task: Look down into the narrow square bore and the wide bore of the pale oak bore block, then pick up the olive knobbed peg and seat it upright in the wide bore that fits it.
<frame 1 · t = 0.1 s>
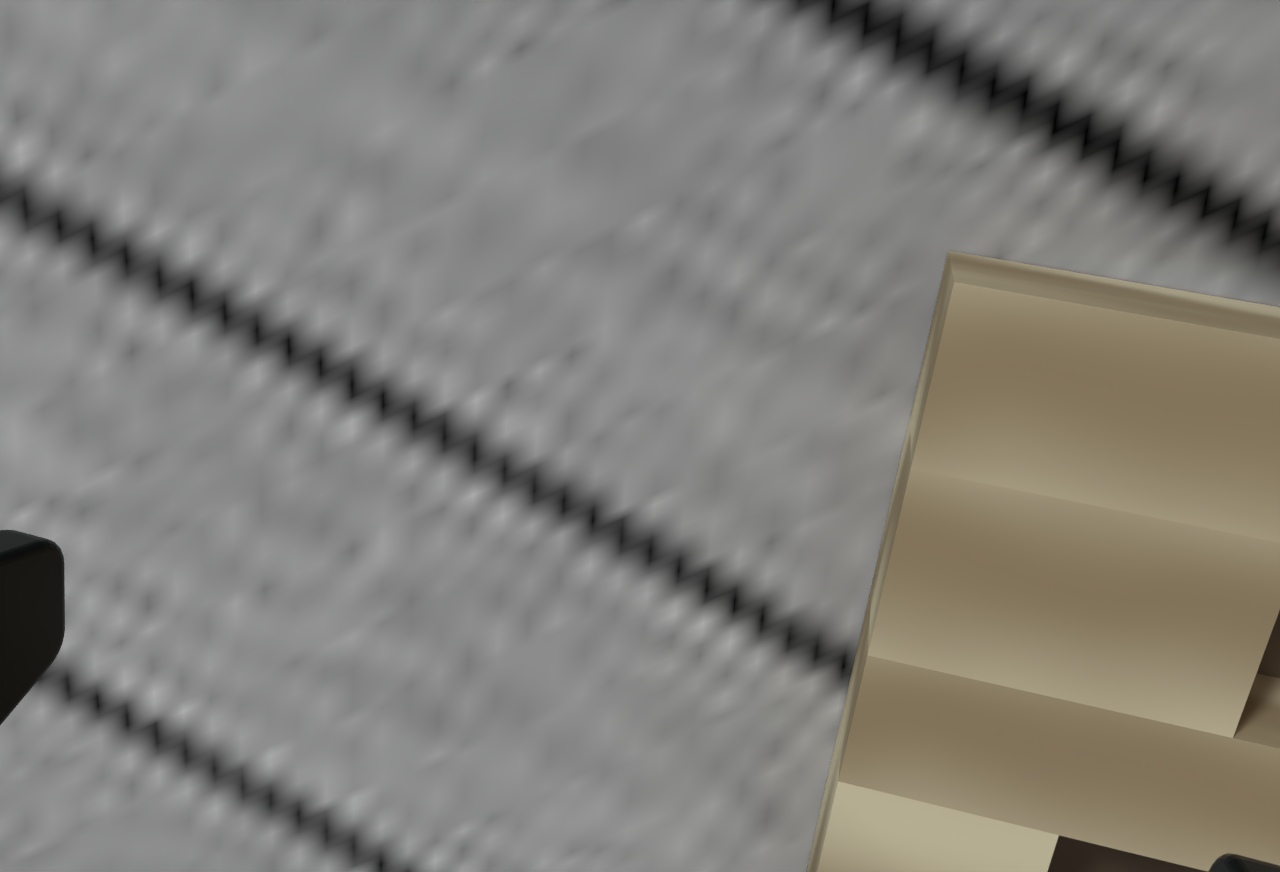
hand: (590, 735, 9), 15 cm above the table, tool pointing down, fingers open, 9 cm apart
bore block: (1239, 811, 23), on the table
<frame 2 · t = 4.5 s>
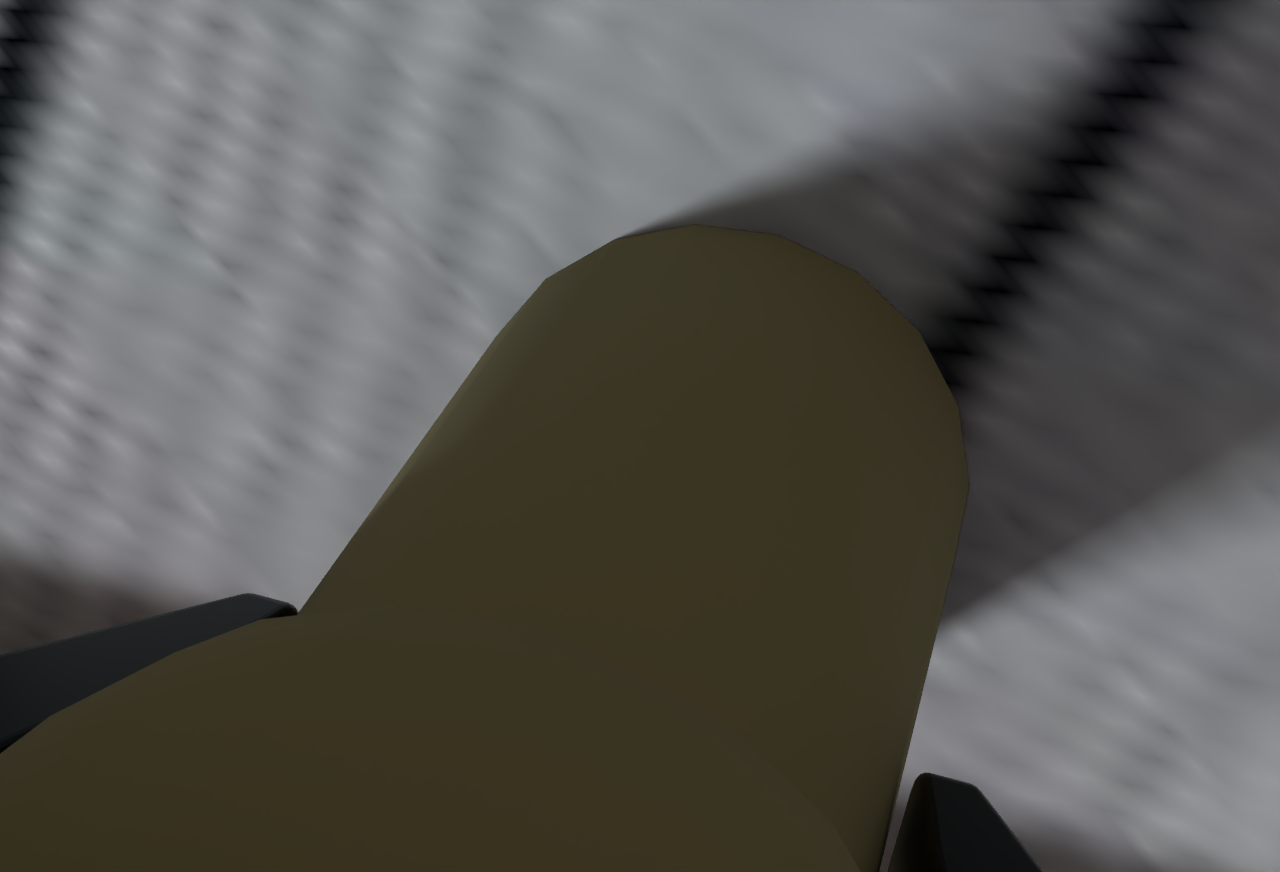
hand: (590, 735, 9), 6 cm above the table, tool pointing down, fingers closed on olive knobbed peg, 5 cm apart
olive knobbed peg: (708, 474, 14), on the table, touching gripper
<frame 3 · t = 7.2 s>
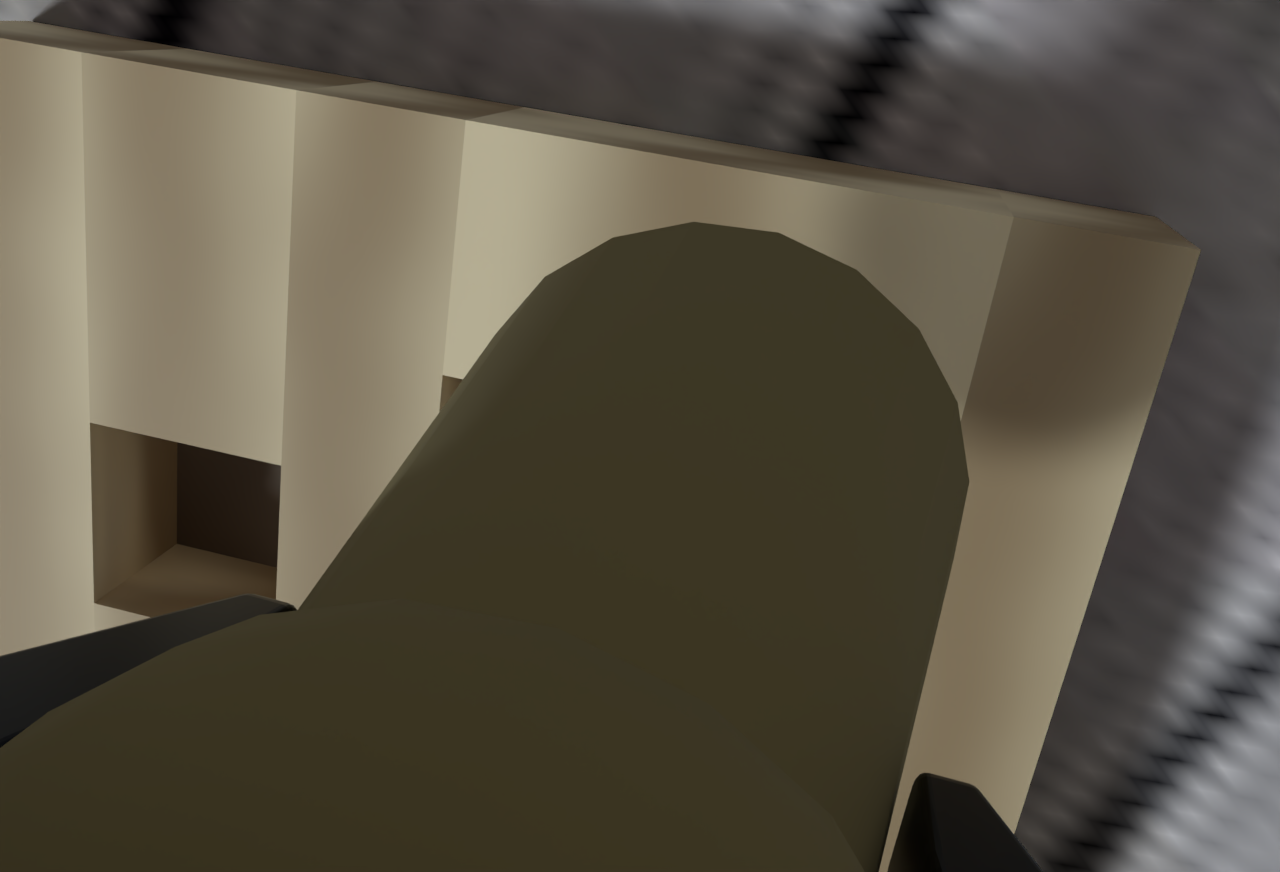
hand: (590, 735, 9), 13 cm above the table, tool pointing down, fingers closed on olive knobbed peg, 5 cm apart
bore block: (504, 531, 23), on the table
olive knobbed peg: (708, 471, 14), point 7 cm above the table, touching gripper
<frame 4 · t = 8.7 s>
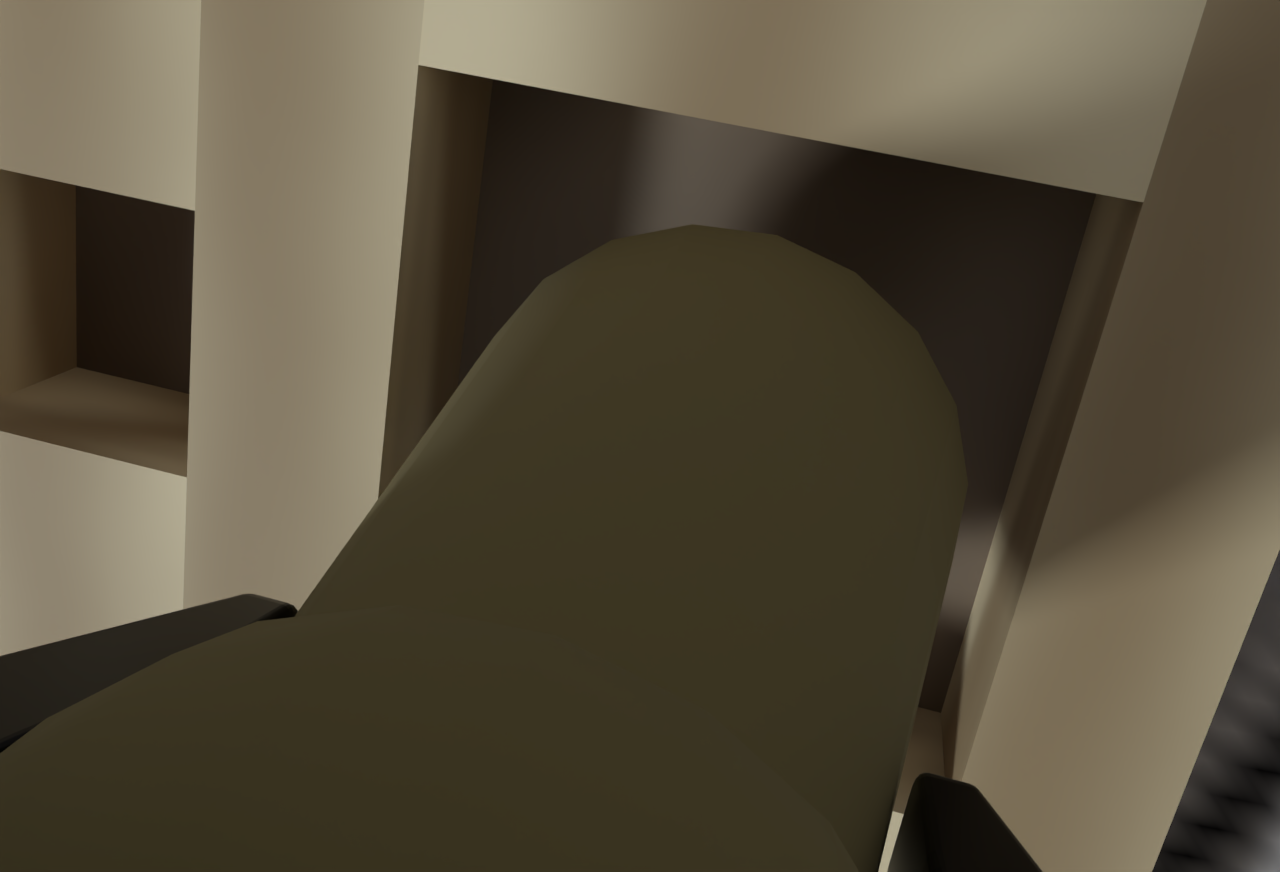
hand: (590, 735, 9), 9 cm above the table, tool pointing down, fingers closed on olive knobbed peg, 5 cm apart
bore block: (501, 345, 17), on the table
olive knobbed peg: (707, 474, 14), point 3 cm above the table, touching gripper
when the fingers open (7 cm above the table, at t = 9.9 s): olive knobbed peg drops 1 cm, resting on bore block.
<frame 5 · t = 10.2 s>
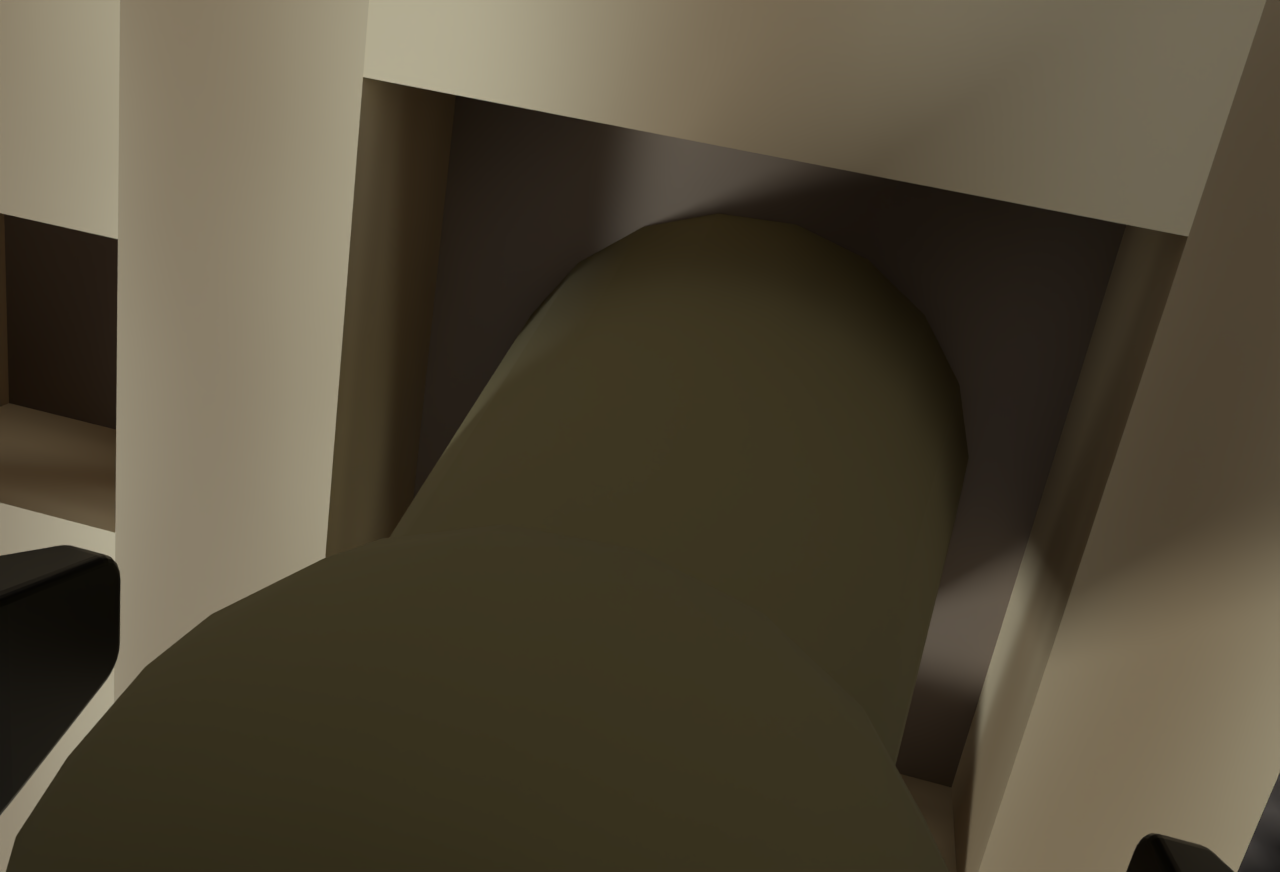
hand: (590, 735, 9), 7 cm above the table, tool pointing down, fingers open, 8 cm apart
bore block: (468, 383, 16), on the table
olive knobbed peg: (726, 446, 15), resting on bore block
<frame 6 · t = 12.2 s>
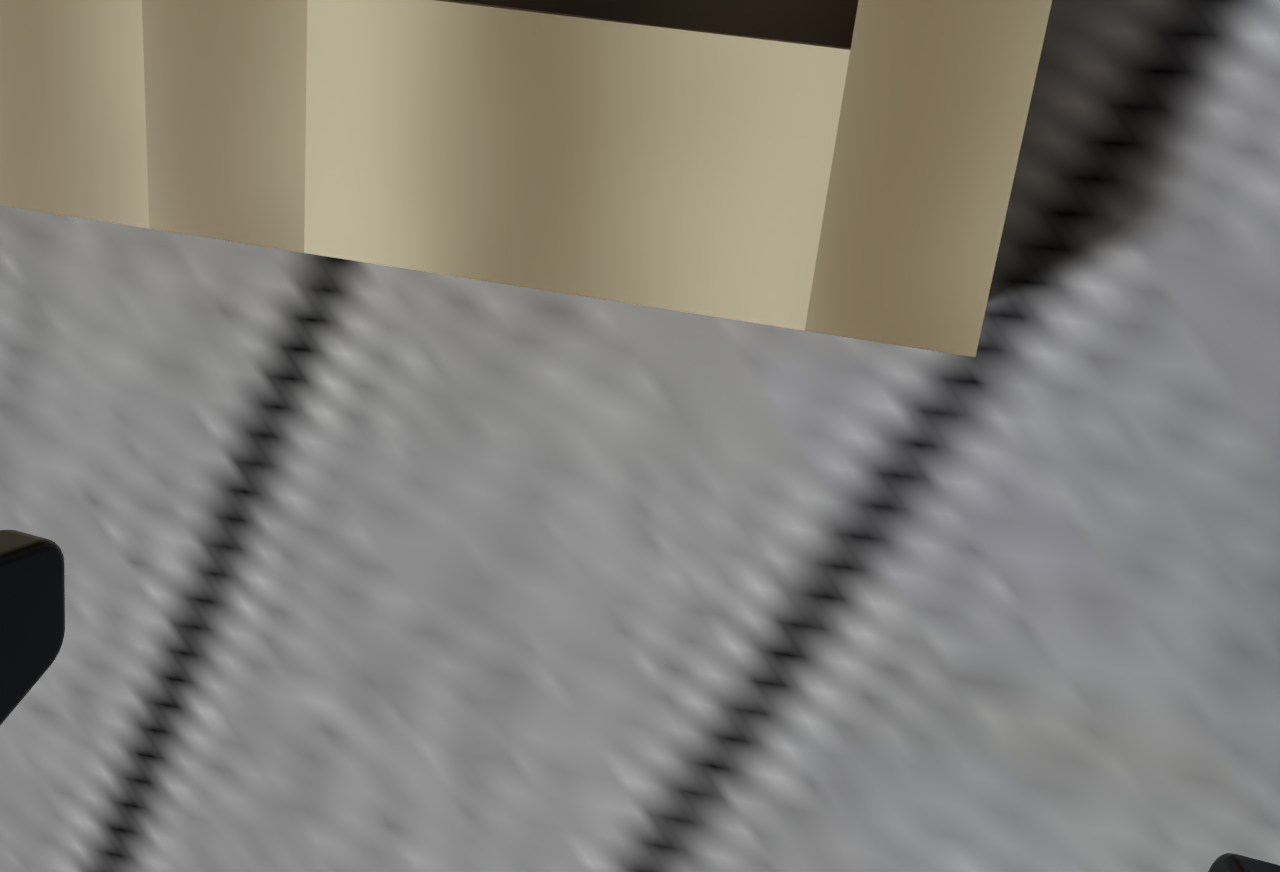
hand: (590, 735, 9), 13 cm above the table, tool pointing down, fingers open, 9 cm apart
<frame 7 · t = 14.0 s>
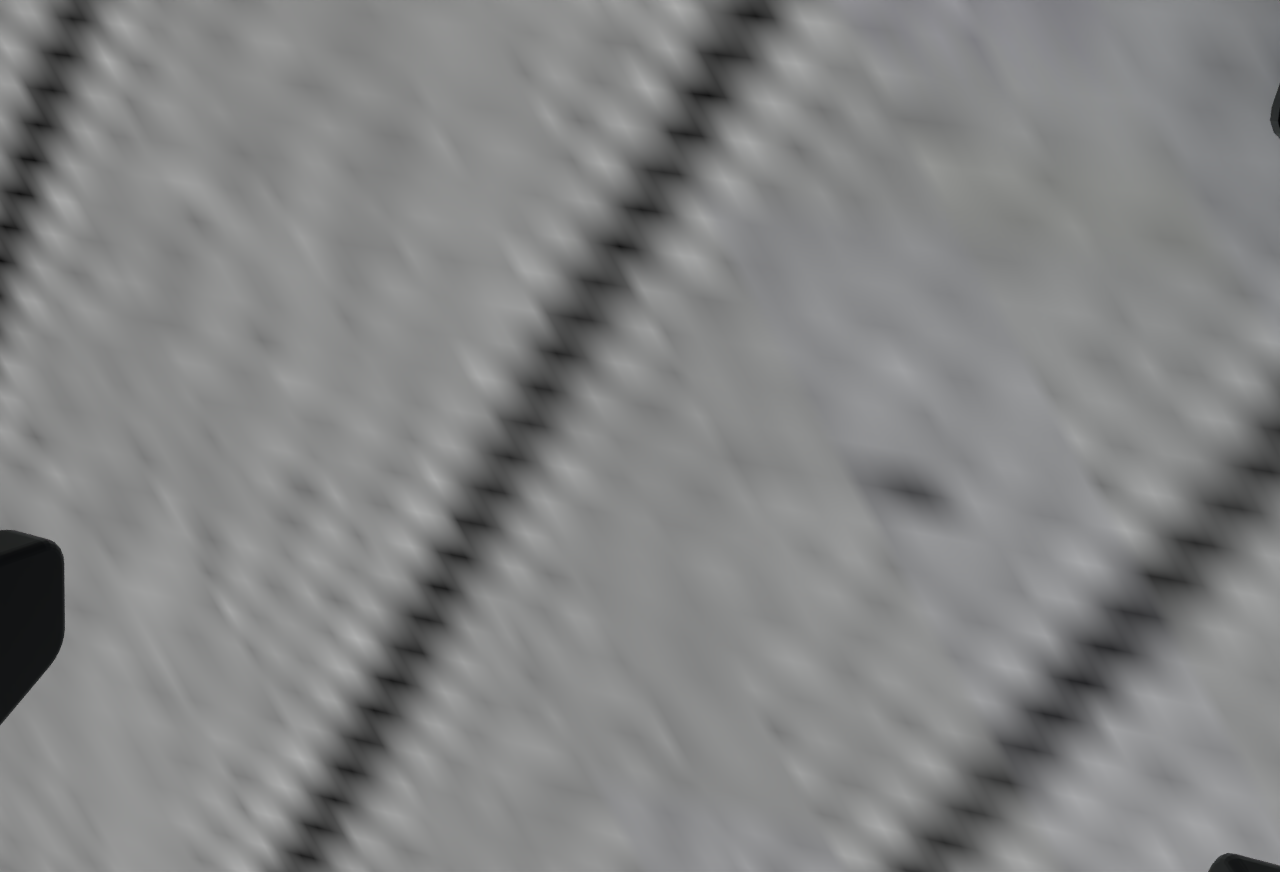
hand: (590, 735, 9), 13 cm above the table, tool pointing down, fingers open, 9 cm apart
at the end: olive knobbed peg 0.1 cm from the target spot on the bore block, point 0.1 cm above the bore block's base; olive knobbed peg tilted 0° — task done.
